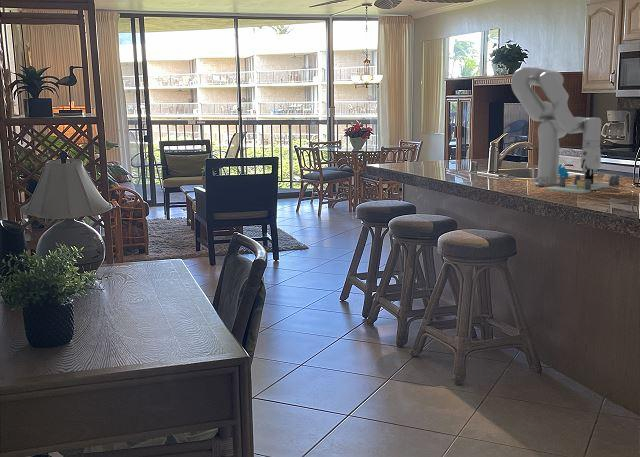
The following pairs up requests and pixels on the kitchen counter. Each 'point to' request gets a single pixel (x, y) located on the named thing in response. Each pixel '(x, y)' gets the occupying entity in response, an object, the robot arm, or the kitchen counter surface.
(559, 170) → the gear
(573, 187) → the spacer board
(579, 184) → the nut
